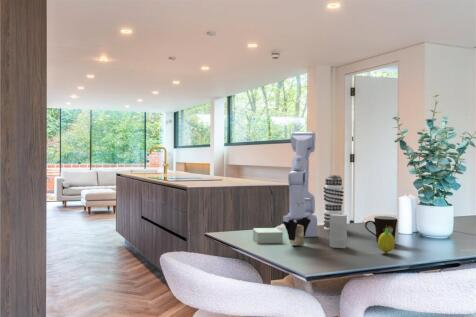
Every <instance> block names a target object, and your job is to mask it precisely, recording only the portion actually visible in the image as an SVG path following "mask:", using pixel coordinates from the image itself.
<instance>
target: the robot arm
mask: <svg viewBox="0 0 476 317" xmlns="http://www.w3.org/2000/svg"><path fill="white" fill-rule="evenodd" d="M290 135H291V136H290V145H291V149H292V150H293V152H295V157H293V158H292V161H291V169H290V172H288V177H287V181H288V190H289V212H287V214H286V215H283V216H282V222H283V225H284V227H285V229H286V233H287V236H288V240H289V241H290V240H293V241H294V240H295V233H296V228H297V225H302V226H304V238H306V237H307V238H308V237H309V238H311V237H312V238H314V237H316V238H317V237H319V236H318V218H317V215H316V214H315V213H316V211H315V210H316V203H315V196H314V194H312V193H311V192H310V191H309V179H310V178H309V176H310V174H309V173H310V172H309V170H310V169H309V168H310V156H311V153H314V152H315V149H316V132H315V131H292V132H291V134H290Z"/></svg>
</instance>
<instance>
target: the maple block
mask: <svg viewBox="0 0 476 317" xmlns="http://www.w3.org/2000/svg"><path fill="white" fill-rule="evenodd" d="M304 239H305V237H304V226H302V225H297V228H296V233H295V240H294V241H293V240H289V242H290V244H291V245H292V246H304Z"/></svg>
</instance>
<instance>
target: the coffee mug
mask: <svg viewBox="0 0 476 317" xmlns="http://www.w3.org/2000/svg"><path fill="white" fill-rule="evenodd" d="M373 219H374V220H366V222H365V224H364V227H365V229H366V230H367V231H368V233H370V234H372V235H373V236H375V237H376V243H377V244H378V239H379V237H380V235H381V234H382V233H384V232H385V230H386V225H387V230H388V233H390V234H391V235H392V236H393V238H394V241H395V242H396V240H395V239H396V231H397V226H398V225H397V224H398V217H396V216H388V215H387V216H386V215H376V216H374V217H373ZM369 223H372V224H373V225H374V228H375V232H373V231H371V230H370V229H369V228H368V227H367V225H368V224H369Z"/></svg>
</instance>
